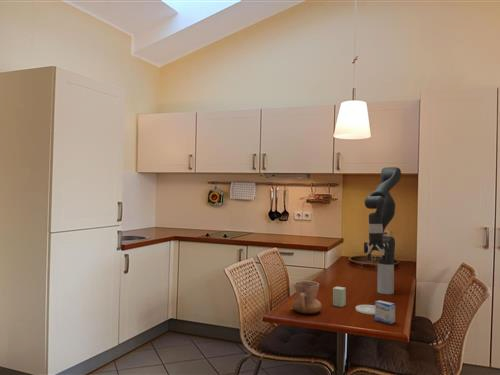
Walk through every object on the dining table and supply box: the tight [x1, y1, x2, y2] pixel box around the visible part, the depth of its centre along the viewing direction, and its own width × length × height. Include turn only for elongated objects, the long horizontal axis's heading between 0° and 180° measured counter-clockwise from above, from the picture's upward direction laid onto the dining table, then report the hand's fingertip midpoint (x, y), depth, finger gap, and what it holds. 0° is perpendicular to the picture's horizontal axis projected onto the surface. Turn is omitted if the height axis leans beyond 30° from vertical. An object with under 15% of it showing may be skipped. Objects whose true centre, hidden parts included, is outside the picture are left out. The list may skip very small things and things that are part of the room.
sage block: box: [332, 286, 347, 308], centre depth 217 cm, size 5×5×9 cm
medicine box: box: [374, 299, 396, 325], centre depth 191 cm, size 8×4×9 cm, turn 45°
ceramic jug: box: [291, 280, 323, 315], centre depth 204 cm, size 18×14×14 cm
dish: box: [355, 304, 375, 316], centre depth 207 cm, size 13×13×1 cm
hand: (376, 261), depth 228 cm, fingers open, 8 cm apart
